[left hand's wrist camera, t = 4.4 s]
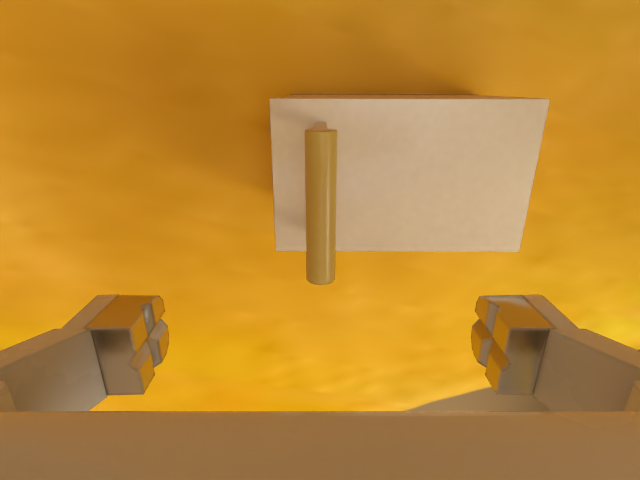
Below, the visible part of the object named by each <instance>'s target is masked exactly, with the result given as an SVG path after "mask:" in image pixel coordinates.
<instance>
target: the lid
mask: <svg viewBox="0 0 640 480" xmlns="http://www.w3.org/2000/svg"><path fill="white" fill-rule="evenodd" d="M549 102H550V99H543V98H270V99H269V107H270V130H271V154H272V177H273V200H274V223H275V246H276V251H306V278H307V281H308V282H310V283H312V284H316V285H326V284H330V283H332V282H333V281H334V280H335V251H365V252H519V250H520V245H521V240H522V235H523V230H524V225H525V220H526V215H527V210H528V206H529V201H530V196H531V191H532V186H533V181H534V176H535V171H536V166H537V161H538V156H539V151H540V146H541V142H542V137H543V132H544V127H545V122H546V117H547V112H548V107H549Z"/></svg>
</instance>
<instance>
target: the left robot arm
mask: <svg viewBox="0 0 640 480" xmlns="http://www.w3.org/2000/svg"><path fill="white" fill-rule="evenodd" d="M164 312H165V308H164V303H163V299H162V298H161V297H160V296H151V295H98V296H96V297H95V298H94V299H93V300H92V301H91V302H90V303H89V304H87V305H86V306H85V307H84V308H83V309H82V310H81V311H80V312H79V313H78V314H77V315H75V316H74V317H73V318H72V319H71V320H70V321H69V322H68V323H67V324H66V325H65V326H64V327H62V328H61V329H53V330H51V331H48V332H46V333H43V334H41V335H38V336H36V337H33V338H31V339H29V340H26V341H24V342H21V343H19V344H16V345H14V346H11V347H9V348H7V349H4V350H2V351H0V480H640V351H638V350H636V349H633V348H631V347H628V346H626V345H624V344H621V343H619V342H616V341H614V340H611V339H609V338H606V337H604V336H602V335H599V334H597V333H594V332H592V331H589V330H587V329H579V328H578V327H576V326H575V325H574V324H573V323H572V322H571V321H570V320H569V319H568V318H567V317H566V316H565V315H563V314H562V313H561V312H560V311H559V310H558V309H557V308H556V307H555V306H554V305H553V304H552V303H550V302H549V301H548V300H547V299H546V298H545V297H544V296H542V295H538V294H537V295H497V296H480V297H479V298H478V300H477V302H476V308H475V312H476V314H477V315H478V317H479V318H480V319H479V320H478V321H477V322H476V323H475V324H474V325H473V326H472V333H471V343H472V350H473V353H474V356H475V358H476V360H477V361H478V363H480V364H481V365H483V366H485V367H486V373H485V375H486V377H487V379H488V381H489V382H490V384H491V386H492V387H493V389H494V391H495V392H496V394H504V395H533V397H534V398H535V399H536V400H538V401H539V402H540V403H542V404H543V405H544V406H546V407H547V408H548V409H550V410H551V411H89V410H90V409H92V408H93V407H94V406H96V405H97V404H98V403H100V402H101V401H102V400H104V399H105V398H106V397H107V395H136V394H144V393H145V391H146V389H147V387H148V386H149V384H150V382H151V381H152V379H153V377H154V375H155V373H154V367H155V366H157V365H159V364H160V363H162V361H163V360H164V358H165V356H166V353H167V349H168V345H169V332H168V326H167V325H166V324H165V323H164V322H163V321H162V320H161V319H160V318H161V317H162V315H163V314H164Z"/></svg>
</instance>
